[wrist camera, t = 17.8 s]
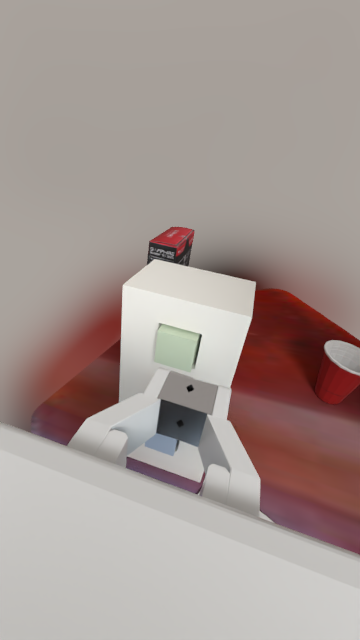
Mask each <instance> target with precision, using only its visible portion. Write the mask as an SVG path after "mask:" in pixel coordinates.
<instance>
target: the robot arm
mask: <svg viewBox="0 0 360 640" xmlns="http://www.w3.org/2000/svg"><path fill="white" fill-rule="evenodd" d="M230 396H231V388H228V387H225V386H221V385H217V384H213V383H210V382H206V381H203V380H200V379H196V378H193V377H190V376H187V375H183V374H180V373H177V372H174V371H170V370H167V369H164V368H161V367H159V368H157V370H156V372H155V373H154V375H153V377H152V379H151V380H150V382H149V384H148V386H147V388H146V389H145V391H144V393H143V394H142V393H138V394H136V395H134V396H132V397H130V398H128V399H126V400H124V401H122V402H120V403H117V404H115V405H113V406H111V407H109V408H107V409H105V410H103V411H101V412H99V413H97V414H95V415H93V416H91V417H89V418H87V419H86V420H85V422H84V423H83V424H82V426H81V427H80V428H79V430H78V431H77V433H76V434H75V435H74V437H73V438H72V439H71V441H70V442H69V443H68V445H67V446H65V445H62V444H59V443H57V442H54V441H51V440H49V439H46V438H43V437H40V436H38V435H35V434H32V433H30V432H27V431H24V430H22V429H19V428H16V427H13V426H11V425H8V424H5V423H3V422H0V640H360V555H359V554H356V553H354V552H351V551H348V550H346V549H343V548H340V547H337V546H335V545H332V544H329V543H327V542H324V541H321V540H319V539H316V538H313V537H310V536H308V535H305V534H302V533H300V532H297V531H294V530H292V529H289V528H286V527H284V526H281V525H278V524H275V523H273V522H270V521H267V520H265V519H262V518H259V512H260V477H259V476H258V474H257V472H256V470H255V468H254V466H253V464H252V462H251V460H250V458H249V456H248V454H247V453H246V451H245V449H244V447H243V445H242V443H241V441H240V439H239V437H238V435H237V433H236V432H235V430H234V428H233V426H232V424H231V422H230V421H227V414H228V408H229V402H230ZM156 433H158V434H161V435H164V436H167V437H171V438H174V439H177V440H180V441H182V442H185V443H188V444H191V445H193V446H196V447H198V450H199V454H200V457H201V461H202V464H203V467H204V471H205V474H206V476H205V479H204V482H203V485H202V488H201V491H200V494H199V495H197V494H194V493H191V492H189V491H186V490H183V489H181V488H178V487H175V486H173V485H170V484H167V483H164V482H162V481H159V480H156V479H154V478H151V477H148V476H146V475H143V474H140V473H138V472H135V471H132V470H129V469H127V468H126V459H127V456H128V455H129V454H130V453H131V452H133V451H134V450H135V449H137V448H138V447H139V446H141V445H142V444H143V443H145V442H146V441H147V440H149V439H150V438H151V437H153V436H154V435H155V434H156Z"/></svg>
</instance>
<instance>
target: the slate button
mask: <svg viewBox="0 0 360 640" xmlns="http://www.w3.org/2000/svg"><path fill="white" fill-rule="evenodd" d="M177 443H178V440H177V439H174V438H171V437H167V436H164V435H161V434H158V433H156V434H155V435H154V436H153V437H151V438H150V439H149V440H147V441H146V442H145V447H148V448H151V449H154V450H156V451H159V452H162V453H165V454H168V455H171V456H173V455H174V452H175V449H176V446H177Z"/></svg>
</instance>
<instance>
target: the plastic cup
mask: <svg viewBox="0 0 360 640" xmlns="http://www.w3.org/2000/svg"><path fill="white" fill-rule="evenodd" d="M322 359H323V360H322V363H321V366H320V370H319V373H318V377H317V382H316V385H315V393H316V395H317V396H318V397H319V398H320V399H321V400H322V401H324V402H326V403H329V404H339V403H340V402H342V401H343V400H344V399H345V398H346V397H347V396H348V395H349V394H350V393H351V392H352V391H353V390H355V389H356V388H357V387H358V386H359V385H360V348H358V347H356V346H354V345H352V344H349V343H346V342H343V341H338V340H331V341H328V342H326V344H325V346H324V355H323V358H322Z"/></svg>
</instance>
